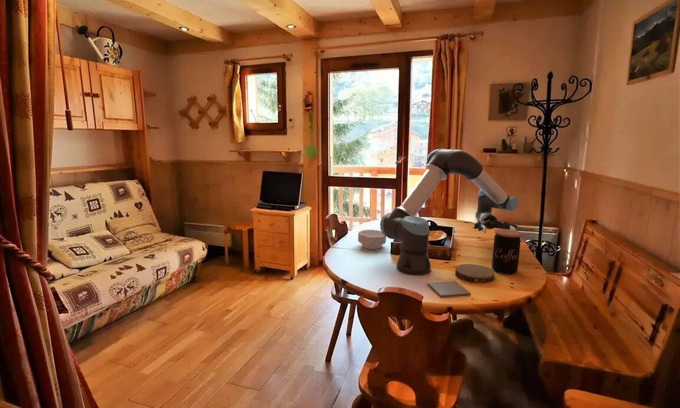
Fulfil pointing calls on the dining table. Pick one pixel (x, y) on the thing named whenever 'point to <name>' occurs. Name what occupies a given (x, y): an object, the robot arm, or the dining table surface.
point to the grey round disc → (474, 273)
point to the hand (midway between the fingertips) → (500, 231)
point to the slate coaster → (448, 289)
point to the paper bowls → (371, 239)
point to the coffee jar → (506, 251)
